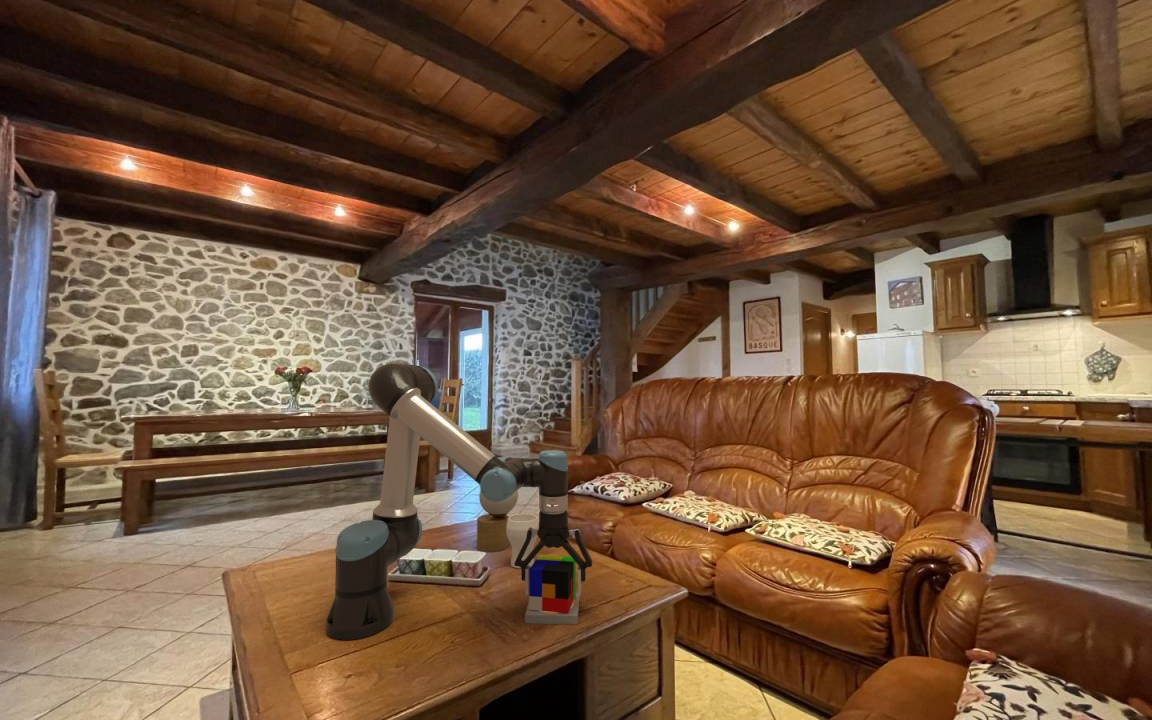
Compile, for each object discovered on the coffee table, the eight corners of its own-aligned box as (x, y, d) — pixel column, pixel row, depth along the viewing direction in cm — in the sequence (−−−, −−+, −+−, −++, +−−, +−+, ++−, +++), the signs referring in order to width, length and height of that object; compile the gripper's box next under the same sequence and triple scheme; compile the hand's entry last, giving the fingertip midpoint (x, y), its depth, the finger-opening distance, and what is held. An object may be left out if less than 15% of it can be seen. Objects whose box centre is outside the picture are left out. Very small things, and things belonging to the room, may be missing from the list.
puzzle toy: (529, 609, 115) (529, 569, 115) (539, 592, 125) (539, 554, 125) (568, 613, 113) (568, 571, 114) (575, 595, 123) (575, 557, 123)
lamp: (504, 536, 178) (505, 471, 179) (525, 545, 167) (525, 476, 168) (469, 545, 168) (470, 476, 169) (488, 556, 157) (489, 482, 159)
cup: (503, 560, 154) (504, 514, 154) (534, 556, 157) (534, 511, 158) (508, 572, 143) (509, 523, 144) (541, 568, 147) (541, 520, 148)
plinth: (524, 623, 112) (525, 614, 113) (532, 598, 125) (532, 590, 126) (577, 624, 112) (577, 614, 112) (579, 599, 125) (579, 591, 125)
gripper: (503, 514, 117) (503, 599, 116) (601, 514, 116) (601, 600, 115) (509, 506, 124) (508, 586, 123) (600, 507, 123) (601, 587, 122)
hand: (553, 593), depth 119 cm, fingers open, 13 cm apart
